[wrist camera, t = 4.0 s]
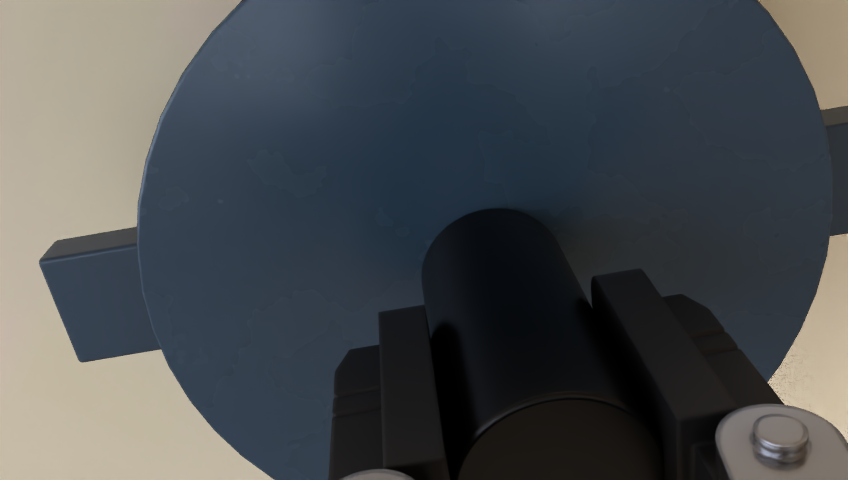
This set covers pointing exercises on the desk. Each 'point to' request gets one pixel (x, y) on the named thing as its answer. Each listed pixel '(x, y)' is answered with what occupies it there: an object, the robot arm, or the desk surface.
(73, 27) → the desk surface
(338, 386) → the robot arm
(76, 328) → the pot
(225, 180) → the lid
